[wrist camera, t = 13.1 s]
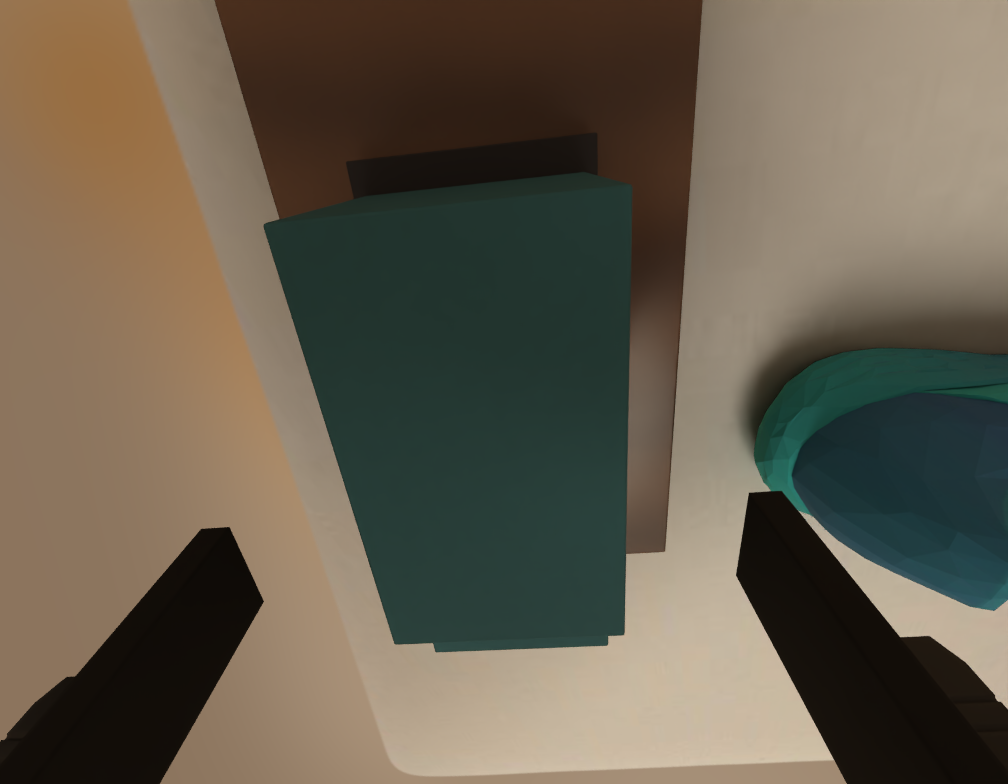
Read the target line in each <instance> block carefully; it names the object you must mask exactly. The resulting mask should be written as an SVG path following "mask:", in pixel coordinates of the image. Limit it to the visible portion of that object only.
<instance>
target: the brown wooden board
mask: <svg viewBox="0 0 1008 784" xmlns="http://www.w3.org/2000/svg"><path fill="white" fill-rule="evenodd" d="M215 4H216V7H217V10H218V14H219V17H220V20H221V24H222V27H223V30H224V34H225V37H226V40H227V44H228V47H229V51H230V54H231V57H232V61H233V64H234V67H235V71H236V74H237V77H238V81H239V84H240V88H241V91H242V94H243V98H244V101H245V104H246V108H247V111H248V114H249V118H250V121H251V124H252V128H253V131H254V135H255V138H256V141H257V145H258V148H259V151H260V155H261V158H262V161H263V165H264V168H265V171H266V175H267V178H268V182H269V185H270V188H271V192H272V195H273V198H274V202H275V205H276V208H277V212H278V215H279V218H280V219H283V218H287V217H290V216H294V215H298V214H301V213H305V212H309V211H312V210H316V209H320V208H324V207H327V206H331V205H335V204H338V203H342V202H346V201H349V200H353V199H354V197H353V193H352V188H351V184H350V180H349V175H348V171H347V166H346V162H347V161H354V160H363V159H371V158H380V157H389V156H397V155H406V154H414V153H423V152H432V151H440V150H449V149H457V148H466V147H475V146H483V145H492V144H500V143H509V142H518V141H526V140H535V139H543V138H552V137H561V136H569V135H578V134H586V133H595V132H596V133H597V144H598V176H601V177H605V178H609V179H612V180H616V181H620V182H624V183H627V184H631V185H632V187H633V191H632V247H631V302H630V357H629V412H628V467H627V522H626V554H632V553H651V552H664V551H665V545H666V531H667V516H668V501H669V486H670V472H671V457H672V442H673V428H674V413H675V398H676V383H677V369H678V354H679V339H680V324H681V310H682V295H683V280H684V266H685V251H686V236H687V221H688V207H689V192H690V177H691V162H692V148H693V133H694V118H695V104H696V89H697V74H698V59H699V45H700V30H701V15H702V0H215Z"/></svg>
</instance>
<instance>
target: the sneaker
mask: <svg viewBox="0 0 1008 784" xmlns="http://www.w3.org/2000/svg"><path fill="white" fill-rule="evenodd" d="M754 458H755V463H756V466H757V468H758V470H759V472H760V475H761V477H762V479H763V482H764V483H765V484H766V485H767V486H768V487H769V489H770V490H771V491H782V492H783V493H784V494H785V495H786V497H787V498H788V499H789V500H790V502H791V503H792V504H793V505H794V507H795V508H796V509H797V510H799V511H801V512H804V513H807V514H809V515H811V516H813V517H814V518H815V519H816V520H817V521H818V522H819V523H820V524H821V525H822V526H823V527H824V528H825V529H826V530H827V531H828V532H829V533H830V534H831V535H832V536H834V537H835V538H836V539H837V540H838V541H840V542H841V543H843V544H844V545H846V546H847V547H849V548H850V549H852V550H853V551H855V552H856V553H858V554H859V555H861V556H863V557H864V558H866V559H868V560H870V561H872V562H874V563H876V564H878V565H880V566H882V567H884V568H886V569H888V570H890V571H892V572H894V573H896V574H898V575H901V576H903V577H905V578H907V579H910V580H912V581H914V582H916V583H919V584H921V585H923V586H925V587H927V588H930V589H932V590H934V591H936V592H939V593H941V594H943V595H945V596H948V597H950V598H952V599H954V600H957V601H959V602H961V603H963V604H965V605H968V606H970V607H975V608H981V609H987V610H993V611H994V610H996V609H997V608H998V607H999V606H1001V605H1002V604H1003V603H1004V602H1006V601H1007V600H1008V354H1003V355H988V354H978V353H968V352H957V351H947V350H934V349H906V348H874V349H866V350H858V351H849V352H842V353H839V354H836V355H833V356H831V357H828V358H825V359H822V360H819V361H816V362H814V363H813V364H811V365H810V366H809V367H807V368H806V369H805V370H803V371H802V372H801V373H799V374H798V375H797V376H795V377H794V378H793V379H791V380H790V381H789V382H787V383H786V385H785V386H784V387H783V389H782V390H781V392H780V393H779V394H778V396H777V397H776V398H775V400H774V401H773V403H772V404H771V405H770V407H769V408H768V410H767V411H766V413H765V415H764V417H763V419H762V422H761V424H760V426H759V428H758V433H757V438H756V442H755V448H754Z"/></svg>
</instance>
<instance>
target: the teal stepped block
mask: <svg viewBox="0 0 1008 784" xmlns="http://www.w3.org/2000/svg"><path fill="white" fill-rule="evenodd" d="M346 166H347V171H348V175H349V180H350V184H351V188H352V193H353V197H354V199H353V200H349V201H346V202H342V203H338V204H335V205H331V206H327V207H324V208H320V209H316V210H312V211H309V212H305V213H301V214H298V215H294V216H290V217H287V218H283V219H279V220H275V221H272V222H268V223H265V224H264V230H265V233H266V236H267V240H268V243H269V246H270V249H271V252H272V256H273V259H274V262H275V265H276V268H277V271H278V275H279V278H280V281H281V284H282V287H283V291H284V294H285V297H286V300H287V303H288V306H289V310H290V313H291V316H292V319H293V322H294V326H295V329H296V332H297V335H298V338H299V341H300V345H301V348H302V351H303V354H304V357H305V361H306V364H307V367H308V370H309V373H310V376H311V380H312V383H313V386H314V389H315V392H316V396H317V399H318V402H319V405H320V408H321V411H322V415H323V418H324V421H325V424H326V427H327V431H328V434H329V437H330V440H331V443H332V446H333V450H334V453H335V456H336V459H337V462H338V466H339V469H340V472H341V475H342V478H343V481H344V485H345V488H346V491H347V494H348V497H349V501H350V504H351V507H352V510H353V513H354V516H355V520H356V523H357V526H358V529H359V532H360V536H361V539H362V542H363V545H364V548H365V551H366V555H367V558H368V561H369V564H370V567H371V571H372V574H373V577H374V580H375V583H376V586H377V590H378V593H379V596H380V599H381V602H382V606H383V609H384V612H385V615H386V618H387V621H388V625H389V628H390V631H391V634H392V637H393V641H394V644H421V643H433V644H434V648H435V652H456V651H482V650H507V649H533V648H558V647H584V646H607V645H608V636H617V635H624V632H625V577H626V522H627V467H628V412H629V357H630V302H631V247H632V191H633V187H632V185H631V184H627V183H624V182H620V181H616V180H612V179H609V178H605V177H601V176H598V144H597V133H596V132H595V133H586V134H578V135H569V136H561V137H552V138H543V139H535V140H526V141H518V142H509V143H500V144H492V145H483V146H475V147H466V148H457V149H449V150H440V151H432V152H423V153H414V154H406V155H397V156H389V157H380V158H371V159H363V160H354V161H347V162H346Z"/></svg>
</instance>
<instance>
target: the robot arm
mask: <svg viewBox="0 0 1008 784" xmlns="http://www.w3.org/2000/svg"><path fill="white" fill-rule="evenodd" d="M736 576H737V578H738V580H739V582H740V584H741V586H742V587H743V589H744V591H745V593H746V595H747V597H748V599H749V601H750V603H751V604H752V606H753V608H754V610H755V612H756V614H757V616H758V618H759V619H760V621H761V623H762V625H763V627H764V629H765V631H766V633H767V634H768V636H769V638H770V640H771V642H772V644H773V646H774V648H775V649H776V651H777V653H778V655H779V657H780V659H781V661H782V663H783V665H784V666H785V668H786V670H787V672H788V674H789V676H790V678H791V680H792V681H793V683H794V685H795V687H796V689H797V691H798V693H799V695H800V696H801V698H802V700H803V702H804V704H805V706H806V708H807V710H808V712H809V713H810V715H811V717H812V719H813V721H814V723H815V725H816V727H817V728H818V730H819V732H820V734H821V736H822V738H823V740H824V742H825V743H826V745H827V747H828V749H829V751H830V753H831V755H832V757H833V759H834V760H835V762H836V764H837V766H838V768H839V770H840V772H841V774H842V775H843V777H844V779H845V781H846V783H847V784H1008V709H1007V708H1006V707H1005V706H1004V705H1003V704H1002V703H1001V702H998V701H997V700H996V699H995V695H994V694H993V692H992V691H991V690H990V689H989V688H988V687H987V686H986V685H985V684H984V682H983V681H982V680H981V679H980V678H979V677H978V676H977V675H976V674H975V672H974V671H973V670H972V669H971V668H970V667H969V666H968V665H967V664H966V663H965V662H964V661H963V660H961V659H960V658H959V657H957V656H956V655H955V654H953V653H952V652H950V651H949V650H948V649H946V648H945V647H944V646H942V645H941V644H940V643H938V642H937V641H935V640H934V639H933V638H931V637H930V636H921V637H899V635H898V634H897V633H896V632H895V630H894V629H893V628H892V627H891V625H890V624H889V623H888V622H887V621H886V619H885V618H884V617H883V616H882V614H881V613H880V612H879V611H878V609H877V608H876V607H875V606H874V604H873V603H872V602H871V601H870V599H869V598H868V597H867V596H866V594H865V593H864V592H863V591H862V590H861V588H860V587H859V586H858V585H857V583H856V582H855V581H854V580H853V578H852V577H851V576H850V575H849V573H848V572H847V571H846V570H845V568H844V567H843V566H842V565H841V564H840V562H839V561H838V560H837V559H836V557H835V556H834V555H833V554H832V552H831V551H830V550H829V549H828V547H827V546H826V545H825V544H824V542H823V541H822V540H821V539H820V538H819V536H818V535H817V534H816V533H815V531H814V530H813V529H812V528H811V526H810V525H809V524H808V523H807V521H806V520H805V519H804V518H803V516H802V515H801V514H800V513H799V511H798V510H797V509H796V508H795V507H794V505H793V504H792V503H791V502H790V500H789V499H788V498H787V497H786V495H785V494H784V493H783V492H782V491H769V492H754V493H749V496H748V503H747V509H746V515H745V522H744V528H743V535H742V541H741V547H740V554H739V560H738V567H737V573H736ZM263 602H264V601H263V599H262V596H261V594H260V592H259V590H258V588H257V586H256V583H255V581H254V579H253V577H252V575H251V573H250V571H249V569H248V566H247V564H246V562H245V560H244V558H243V556H242V553H241V551H240V549H239V547H238V545H237V542H236V540H235V538H234V536H233V534H232V532H231V529H230V528H229V527H224V528H211V529H210V528H208V529H201V530H200V531H199V532H198V533H197V535H196V536H195V537H194V538H193V539H192V541H191V542H190V543H189V544H188V545H187V546H186V548H185V549H184V550H183V551H182V552H181V554H180V555H179V556H178V557H177V558H176V559H175V560H174V562H173V563H172V564H171V565H170V566H169V568H168V569H167V570H166V571H165V572H164V573H163V575H162V576H161V577H160V578H159V579H158V580H157V582H156V583H155V584H154V585H153V586H152V587H151V589H150V590H149V591H148V592H147V593H146V594H145V596H144V597H143V598H142V599H141V600H140V602H139V603H138V604H137V605H136V606H135V607H134V608H133V610H132V611H131V612H130V613H129V614H128V615H127V617H126V618H125V619H124V620H123V621H122V623H121V624H120V625H119V626H118V627H117V628H116V630H115V631H114V632H113V633H112V634H111V635H110V637H109V638H108V639H107V640H106V641H105V642H104V644H103V645H102V646H101V647H100V648H99V649H98V651H97V652H96V653H95V654H94V655H93V657H92V658H91V659H90V660H89V661H88V662H87V664H86V665H85V666H84V667H83V668H82V669H81V671H80V672H79V673H78V674H77V675H76V676H75V677H66V678H65V679H64V680H62V681H61V682H60V683H59V684H57V685H56V686H55V687H54V688H52V689H51V690H50V691H49V692H48V693H46V694H45V695H44V696H43V697H42V698H40V699H39V700H38V701H37V702H35V703H34V704H33V705H32V706H31V708H30V709H29V710H28V711H27V712H26V713H25V714H24V716H23V717H22V718H21V719H20V720H19V721H18V722H17V723H16V725H15V726H14V727H13V728H12V729H11V730H10V731H9V732H8V733H7V738H6V739H5V740H1V742H0V784H160V782H161V780H162V779H163V777H164V775H165V773H166V771H167V770H168V768H169V766H170V765H171V763H172V761H173V760H174V758H175V756H176V754H177V752H178V751H179V749H180V747H181V745H182V744H183V742H184V740H185V739H186V737H187V735H188V733H189V732H190V730H191V728H192V726H193V724H194V723H195V721H196V719H197V718H198V716H199V714H200V712H201V711H202V709H203V707H204V705H205V704H206V702H207V700H208V698H209V697H210V695H211V693H212V691H213V690H214V688H215V686H216V684H217V682H218V681H219V679H220V677H221V676H222V674H223V672H224V670H225V669H226V667H227V665H228V663H229V662H230V660H231V658H232V656H233V655H234V653H235V651H236V649H237V647H238V646H239V644H240V642H241V640H242V639H243V637H244V635H245V634H246V632H247V630H248V628H249V627H250V625H251V623H252V621H253V620H254V618H255V616H256V614H257V613H258V611H259V609H260V607H261V606H262V604H263Z"/></svg>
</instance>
